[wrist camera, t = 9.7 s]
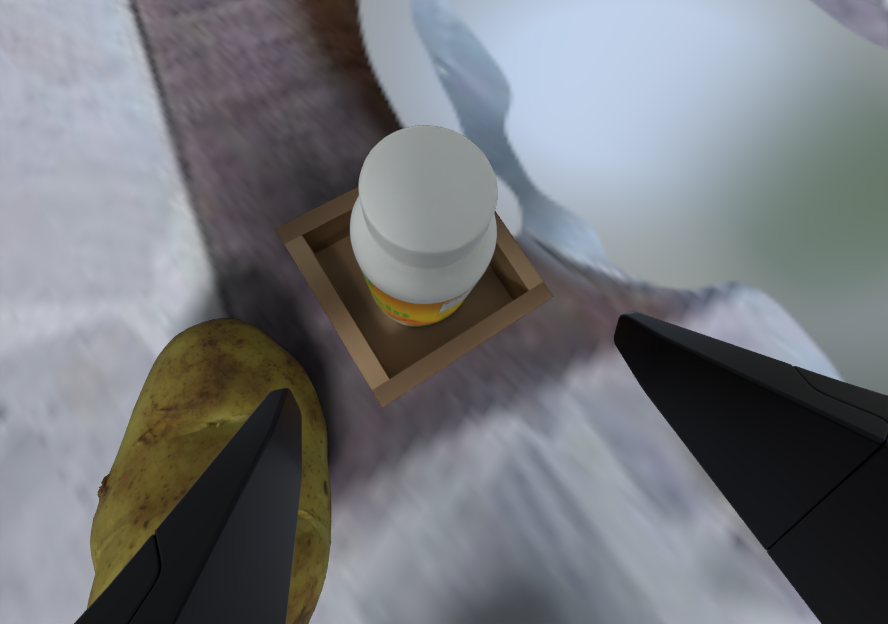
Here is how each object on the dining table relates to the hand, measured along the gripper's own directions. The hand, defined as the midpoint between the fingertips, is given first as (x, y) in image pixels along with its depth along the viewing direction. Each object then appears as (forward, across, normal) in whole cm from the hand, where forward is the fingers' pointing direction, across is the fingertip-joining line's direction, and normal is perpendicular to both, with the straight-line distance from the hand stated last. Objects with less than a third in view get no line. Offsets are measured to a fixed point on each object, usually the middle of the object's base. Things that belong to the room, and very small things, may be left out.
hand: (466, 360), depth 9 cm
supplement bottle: (+10, 0, +3) cm, 11 cm away
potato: (+6, +9, +9) cm, 14 cm away
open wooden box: (+11, 0, +3) cm, 11 cm away
